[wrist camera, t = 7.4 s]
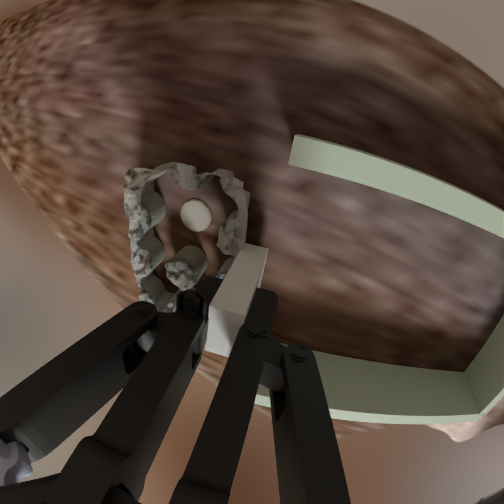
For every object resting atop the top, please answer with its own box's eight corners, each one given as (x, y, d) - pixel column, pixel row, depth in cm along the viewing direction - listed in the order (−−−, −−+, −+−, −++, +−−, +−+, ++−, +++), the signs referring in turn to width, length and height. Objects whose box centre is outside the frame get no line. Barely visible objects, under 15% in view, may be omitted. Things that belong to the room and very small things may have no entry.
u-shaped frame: (547, 236, 13) (584, 265, 8) (464, 380, 20) (478, 420, 15) (299, 133, 15) (294, 135, 10) (250, 346, 22) (234, 398, 17)
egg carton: (157, 152, 17) (122, 160, 14) (266, 175, 17) (254, 189, 13) (147, 284, 22) (121, 311, 18) (234, 313, 21) (219, 348, 18)
